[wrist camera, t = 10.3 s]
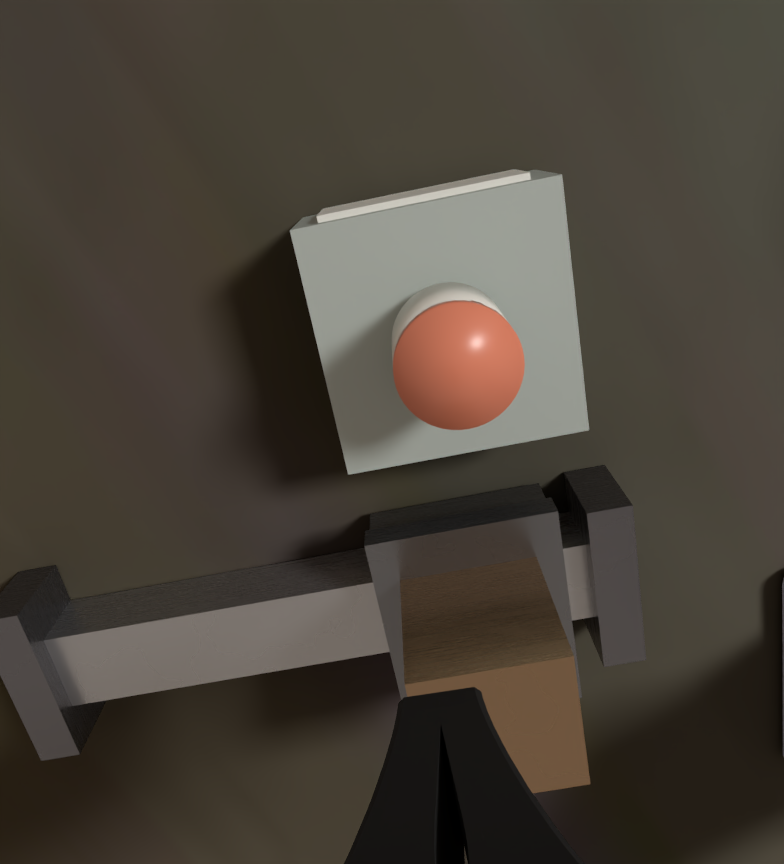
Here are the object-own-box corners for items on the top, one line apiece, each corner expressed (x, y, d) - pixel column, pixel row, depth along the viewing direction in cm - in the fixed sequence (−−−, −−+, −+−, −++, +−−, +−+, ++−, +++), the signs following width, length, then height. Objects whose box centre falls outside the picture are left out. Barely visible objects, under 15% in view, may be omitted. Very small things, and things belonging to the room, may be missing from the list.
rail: (604, 464, 22) (632, 505, 19) (618, 606, 24) (646, 660, 21) (18, 571, 23) (-25, 622, 20) (74, 699, 25) (41, 760, 22)
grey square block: (534, 163, 19) (561, 167, 16) (561, 391, 21) (589, 429, 18) (301, 211, 19) (288, 223, 16) (352, 430, 21) (348, 474, 18)
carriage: (536, 466, 21) (602, 602, 15) (559, 635, 24) (625, 818, 17) (366, 497, 22) (360, 644, 15) (404, 662, 24) (413, 850, 17)
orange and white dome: (497, 271, 16) (515, 291, 14) (513, 382, 17) (532, 417, 15) (381, 294, 16) (381, 317, 14) (403, 404, 17) (406, 440, 15)
